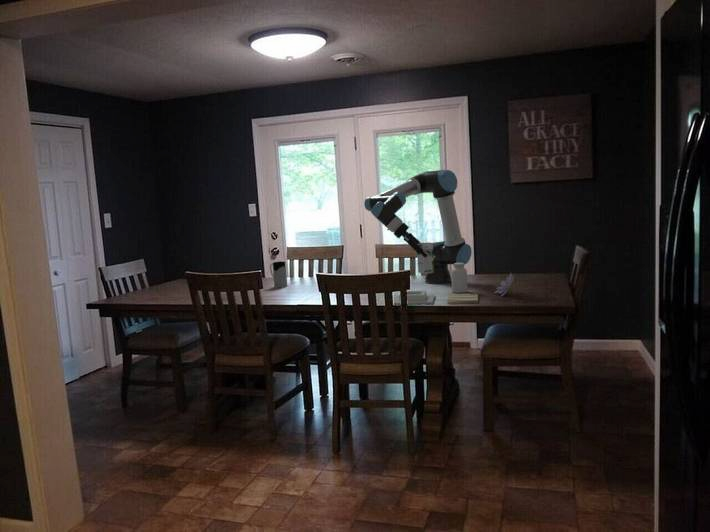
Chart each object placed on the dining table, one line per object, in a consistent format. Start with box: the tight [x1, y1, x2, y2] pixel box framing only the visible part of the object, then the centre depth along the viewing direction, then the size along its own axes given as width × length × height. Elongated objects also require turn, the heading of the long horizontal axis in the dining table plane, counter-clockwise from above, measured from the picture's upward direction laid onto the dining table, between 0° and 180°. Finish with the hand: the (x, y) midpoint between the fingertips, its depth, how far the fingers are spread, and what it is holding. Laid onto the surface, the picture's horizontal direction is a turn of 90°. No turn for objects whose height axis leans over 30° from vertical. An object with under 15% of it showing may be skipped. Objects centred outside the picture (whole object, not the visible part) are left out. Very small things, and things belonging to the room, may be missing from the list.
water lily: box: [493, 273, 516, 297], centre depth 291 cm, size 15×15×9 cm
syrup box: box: [416, 241, 434, 275], centre depth 284 cm, size 6×6×14 cm
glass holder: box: [269, 261, 289, 288], centre depth 360 cm, size 9×14×15 cm, turn 41°
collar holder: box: [392, 290, 436, 306], centre depth 290 cm, size 20×20×4 cm
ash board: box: [447, 293, 479, 305], centre depth 285 cm, size 18×14×1 cm
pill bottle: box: [450, 263, 468, 294], centre depth 305 cm, size 8×8×15 cm
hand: (432, 260), depth 284 cm, fingers closed on syrup box, 7 cm apart
